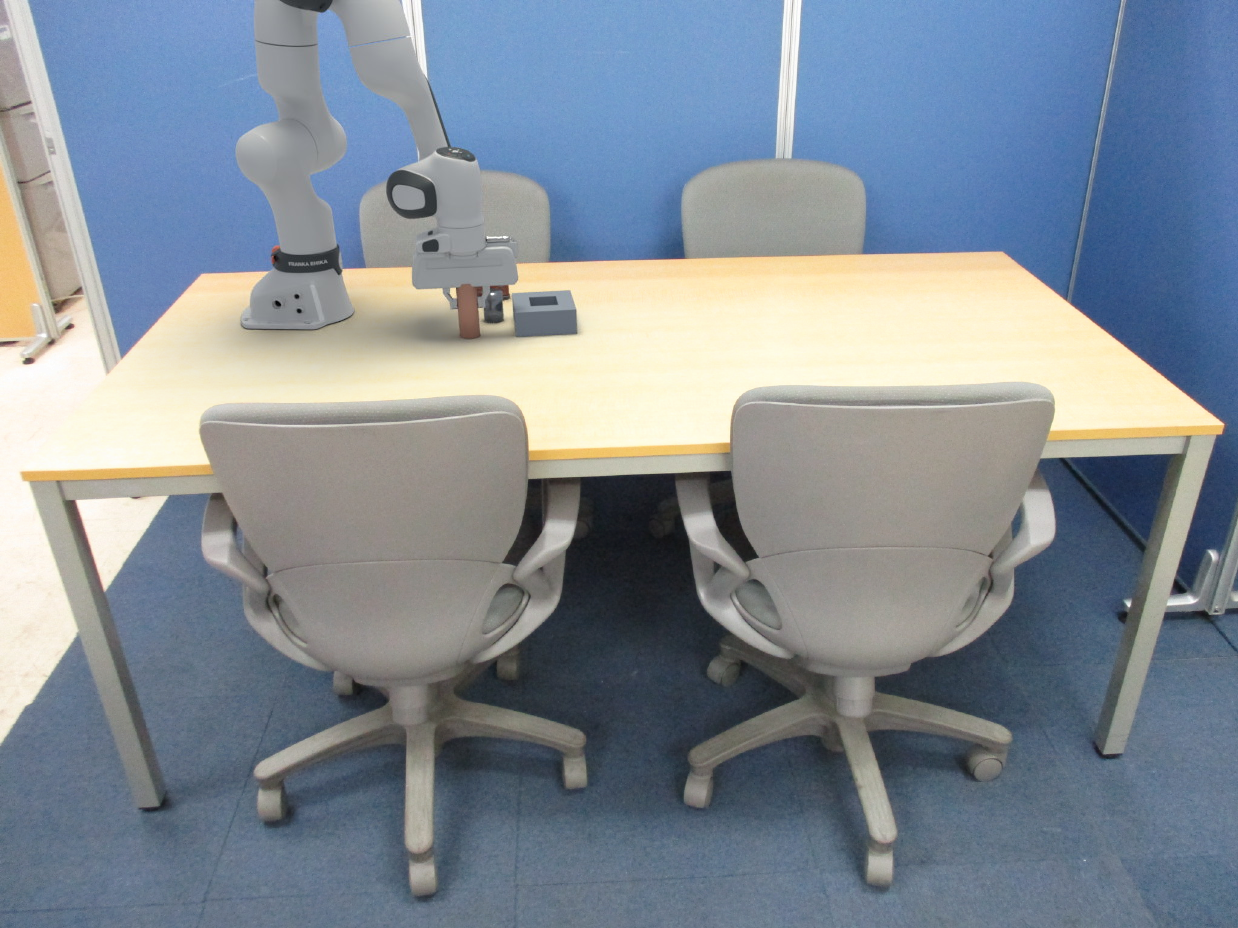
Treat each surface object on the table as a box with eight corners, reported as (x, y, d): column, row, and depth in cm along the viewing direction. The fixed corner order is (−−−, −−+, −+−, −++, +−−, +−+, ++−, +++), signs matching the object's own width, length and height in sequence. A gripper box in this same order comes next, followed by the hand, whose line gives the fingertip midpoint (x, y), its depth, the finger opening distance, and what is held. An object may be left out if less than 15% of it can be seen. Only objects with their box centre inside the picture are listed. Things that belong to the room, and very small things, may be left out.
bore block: (516, 337, 194) (515, 312, 192) (513, 316, 205) (511, 293, 202) (577, 333, 196) (576, 309, 193) (570, 313, 206) (570, 290, 204)
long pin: (459, 339, 193) (455, 285, 188) (459, 332, 197) (455, 278, 192) (480, 338, 194) (476, 283, 189) (480, 331, 197) (476, 277, 192)
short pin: (484, 323, 201) (482, 295, 198) (484, 317, 204) (482, 289, 202) (504, 322, 201) (502, 294, 199) (503, 316, 205) (501, 288, 202)
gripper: (516, 231, 190) (520, 300, 197) (408, 235, 188) (416, 305, 194) (518, 240, 185) (522, 310, 191) (407, 244, 182) (414, 316, 189)
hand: (467, 308), depth 193 cm, fingers closed on long pin, 4 cm apart
